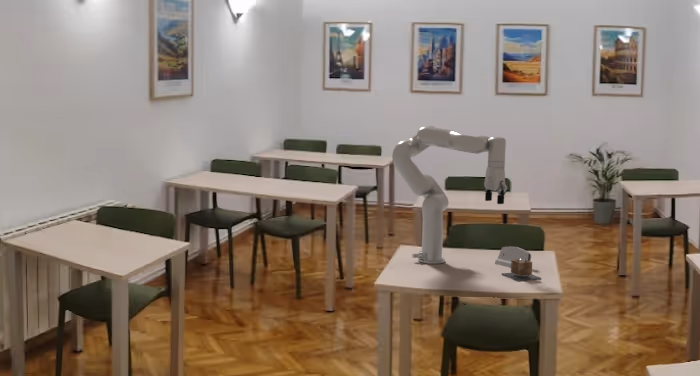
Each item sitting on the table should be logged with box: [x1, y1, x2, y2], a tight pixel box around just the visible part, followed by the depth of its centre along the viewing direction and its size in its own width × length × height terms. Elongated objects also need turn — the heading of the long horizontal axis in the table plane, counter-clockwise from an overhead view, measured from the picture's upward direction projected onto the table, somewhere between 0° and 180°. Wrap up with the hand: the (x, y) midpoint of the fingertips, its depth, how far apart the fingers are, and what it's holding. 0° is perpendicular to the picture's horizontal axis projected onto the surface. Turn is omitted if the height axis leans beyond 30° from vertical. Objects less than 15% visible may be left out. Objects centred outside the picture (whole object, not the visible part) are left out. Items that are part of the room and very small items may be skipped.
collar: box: [510, 259, 533, 276], centre depth 347 cm, size 6×6×6 cm
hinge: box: [494, 245, 532, 268], centre depth 368 cm, size 17×5×10 cm, turn 41°
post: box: [501, 258, 542, 282], centre depth 347 cm, size 12×12×8 cm
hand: (494, 202), depth 359 cm, fingers open, 9 cm apart
